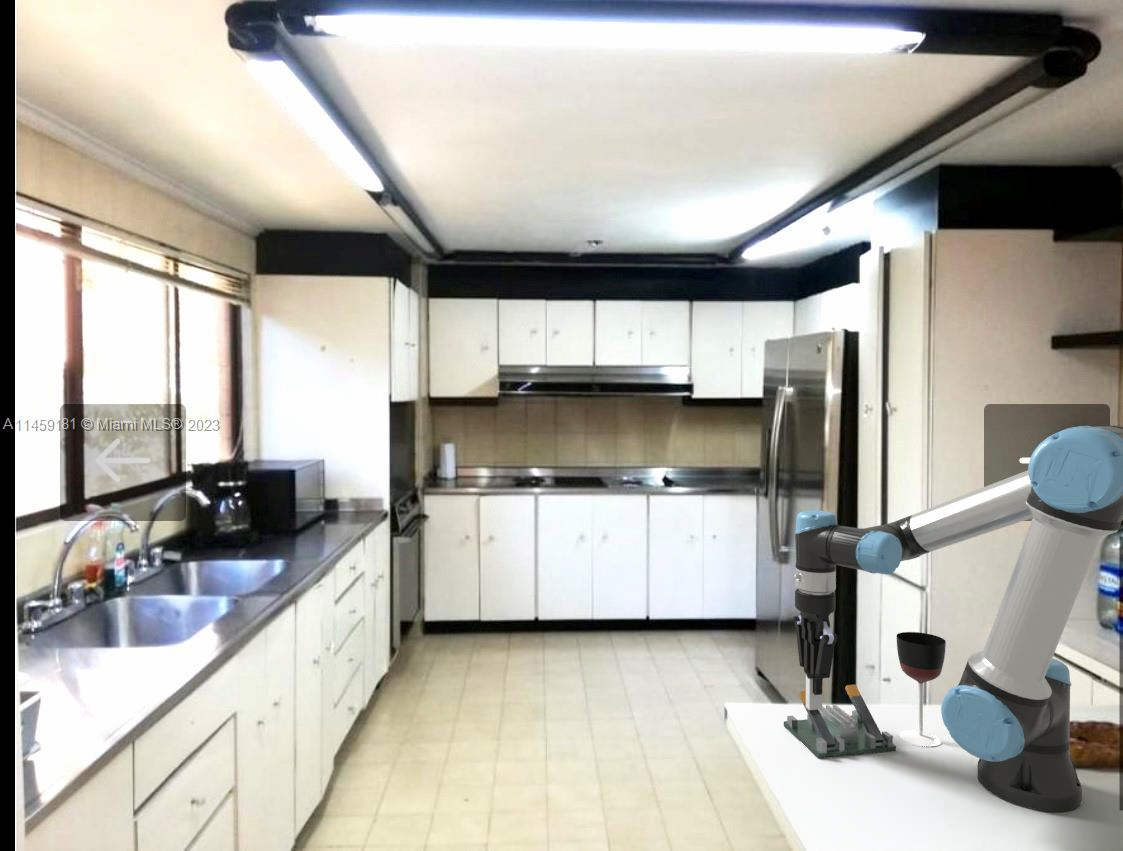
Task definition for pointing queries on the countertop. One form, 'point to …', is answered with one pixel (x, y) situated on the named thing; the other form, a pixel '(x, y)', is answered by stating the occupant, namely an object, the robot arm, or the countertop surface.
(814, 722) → the lever
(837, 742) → the circuit board
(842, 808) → the countertop surface
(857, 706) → the lever
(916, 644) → the wineglass
